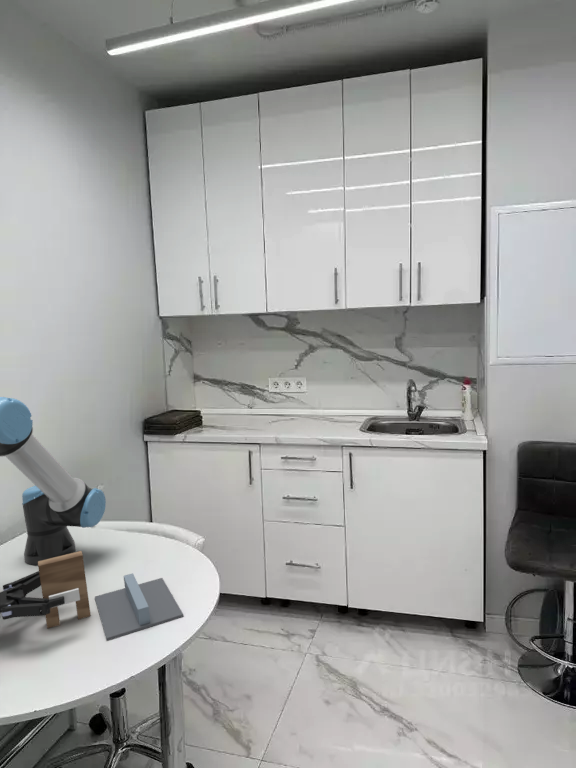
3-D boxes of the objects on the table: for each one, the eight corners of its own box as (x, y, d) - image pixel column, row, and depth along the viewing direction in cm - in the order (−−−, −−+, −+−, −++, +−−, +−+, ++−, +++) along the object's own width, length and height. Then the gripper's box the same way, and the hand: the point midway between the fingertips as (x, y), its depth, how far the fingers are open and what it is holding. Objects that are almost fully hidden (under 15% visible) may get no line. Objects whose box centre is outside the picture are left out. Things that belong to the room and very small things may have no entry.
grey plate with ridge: (94, 598, 145) (92, 582, 144) (162, 579, 152) (160, 564, 152) (106, 640, 125) (104, 621, 124) (183, 616, 133) (181, 598, 132)
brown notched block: (46, 622, 134) (37, 561, 132) (89, 610, 139) (81, 550, 137) (47, 628, 132) (38, 566, 130) (90, 615, 136) (82, 555, 134)
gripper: (-16, 599, 138) (74, 576, 147) (-23, 651, 116) (83, 620, 125) (-20, 571, 137) (70, 549, 146) (-28, 618, 115) (79, 589, 124)
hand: (76, 582), depth 135 cm, fingers open, 13 cm apart
